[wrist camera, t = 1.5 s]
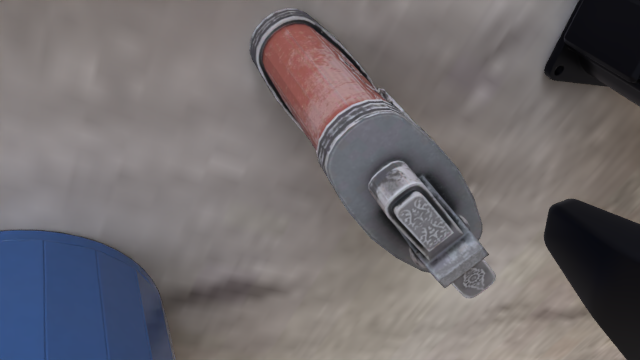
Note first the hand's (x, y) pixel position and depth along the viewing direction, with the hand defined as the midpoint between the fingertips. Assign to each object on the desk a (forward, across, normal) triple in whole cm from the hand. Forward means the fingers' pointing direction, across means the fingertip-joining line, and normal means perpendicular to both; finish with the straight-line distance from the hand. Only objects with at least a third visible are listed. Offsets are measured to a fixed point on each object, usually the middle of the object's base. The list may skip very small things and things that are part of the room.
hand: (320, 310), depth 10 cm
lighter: (+13, -5, +4) cm, 15 cm away
